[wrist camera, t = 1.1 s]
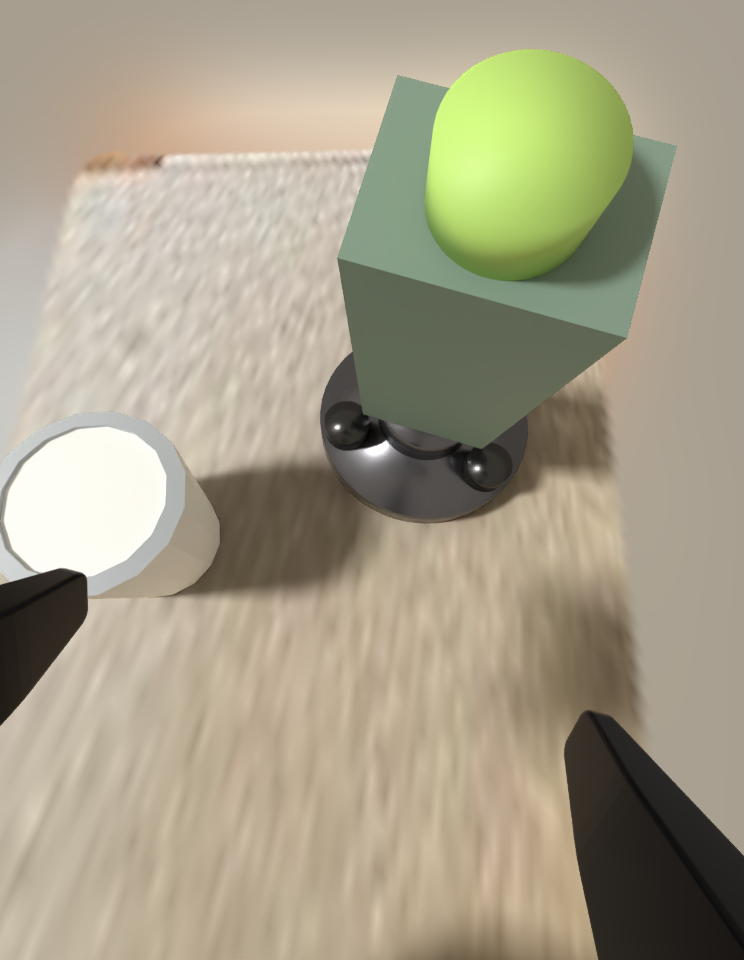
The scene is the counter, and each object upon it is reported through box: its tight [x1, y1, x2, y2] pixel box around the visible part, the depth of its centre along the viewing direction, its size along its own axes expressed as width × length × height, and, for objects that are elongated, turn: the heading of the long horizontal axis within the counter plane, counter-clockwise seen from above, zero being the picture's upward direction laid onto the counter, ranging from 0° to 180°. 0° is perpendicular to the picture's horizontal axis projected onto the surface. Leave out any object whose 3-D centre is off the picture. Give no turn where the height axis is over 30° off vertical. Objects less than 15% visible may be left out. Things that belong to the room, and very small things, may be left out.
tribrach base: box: [320, 352, 527, 523], centre depth 23 cm, size 11×11×3 cm
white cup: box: [0, 411, 220, 599], centre depth 19 cm, size 7×7×7 cm
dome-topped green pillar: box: [337, 49, 677, 449], centre depth 15 cm, size 6×6×15 cm
